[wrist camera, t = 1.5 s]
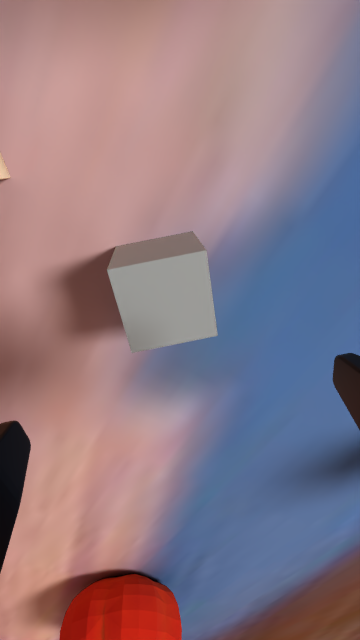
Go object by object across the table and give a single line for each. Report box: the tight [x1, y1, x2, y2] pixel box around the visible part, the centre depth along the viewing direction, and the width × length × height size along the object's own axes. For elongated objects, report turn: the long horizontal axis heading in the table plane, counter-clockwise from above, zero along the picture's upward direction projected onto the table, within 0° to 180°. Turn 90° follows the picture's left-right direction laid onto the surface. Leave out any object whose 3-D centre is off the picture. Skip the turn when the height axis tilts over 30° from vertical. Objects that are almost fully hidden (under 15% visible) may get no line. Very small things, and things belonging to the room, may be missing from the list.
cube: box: [107, 231, 218, 353], centre depth 16 cm, size 4×4×4 cm
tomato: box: [60, 574, 182, 640], centre depth 32 cm, size 13×12×8 cm
